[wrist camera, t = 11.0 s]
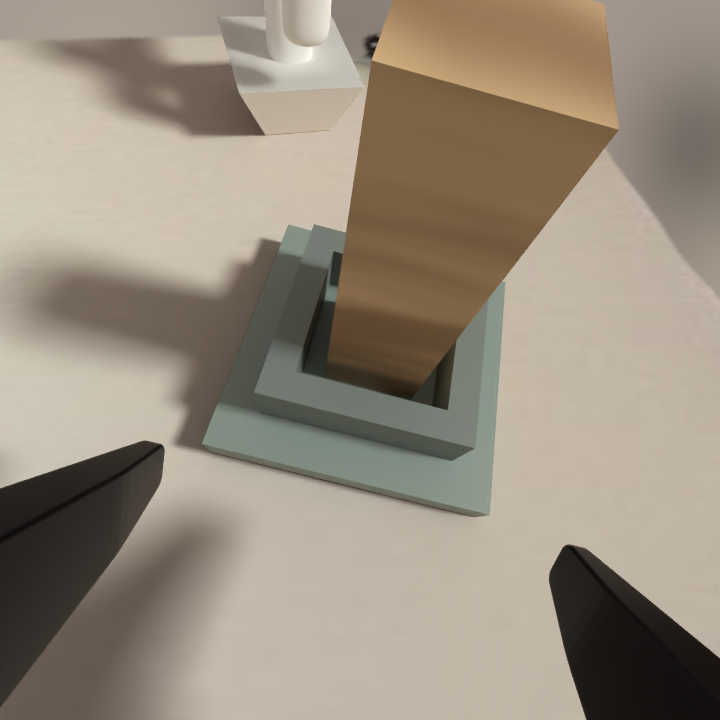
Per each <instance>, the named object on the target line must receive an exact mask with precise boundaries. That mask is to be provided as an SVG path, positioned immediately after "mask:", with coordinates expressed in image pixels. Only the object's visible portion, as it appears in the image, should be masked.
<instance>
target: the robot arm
mask: <svg viewBox="0 0 720 720" xmlns="http://www.w3.org/2000/svg"><path fill="white" fill-rule="evenodd" d="M164 451H165V450H164V447H163V445H162V444H158V443H154V442H150V441H141V442H138V443H135V444H132V445H129V446H126V447H123V448H120V449H117V450H114V451H111V452H108V453H105V454H102V455H99V456H96V457H93V458H90V459H87V460H84V461H81V462H78V463H75V464H72V465H69V466H66V467H63V468H60V469H57V470H54V471H51V472H48V473H45V474H42V475H39V476H36V477H33V478H30V479H27V480H24V481H21V482H18V483H15V484H12V485H9V486H6V487H3V488H0V707H1V706H2V705H3V703H4V702H5V701H6V699H7V698H8V697H9V695H10V694H11V693H12V691H13V690H14V689H15V688H16V686H17V685H18V684H19V682H20V681H21V680H22V678H23V677H24V676H25V674H26V673H27V672H28V670H29V669H30V668H31V667H32V665H33V664H34V663H35V661H36V660H37V659H38V657H39V656H40V655H41V653H42V652H43V651H44V649H45V648H46V647H47V646H48V644H49V643H50V642H51V640H52V639H53V638H54V636H55V635H56V634H57V632H58V631H59V630H60V628H61V627H62V626H63V625H64V623H65V622H66V621H67V619H68V618H69V617H70V615H71V614H72V613H73V611H74V610H75V609H76V607H77V606H78V605H79V604H80V602H81V601H82V600H83V598H84V597H85V596H86V594H87V593H88V592H89V590H90V589H91V588H92V586H93V585H94V584H95V583H96V581H97V580H98V579H99V577H100V576H101V575H102V573H103V572H104V571H105V569H106V568H107V567H108V565H109V564H110V563H111V561H112V560H113V559H114V557H115V556H116V555H117V553H118V552H119V550H120V549H121V547H122V546H123V544H124V542H125V541H126V539H127V538H128V536H129V534H130V533H131V531H132V529H133V528H134V526H135V525H136V523H137V521H138V520H139V518H140V516H141V515H142V513H143V511H144V510H145V508H146V507H147V505H148V503H149V502H150V500H151V498H152V497H153V495H154V493H155V492H156V490H157V489H158V487H159V485H160V482H161V479H162V471H163V462H164ZM549 583H550V588H551V592H552V597H553V601H554V606H555V610H556V614H557V619H558V623H559V628H560V632H561V636H562V641H563V645H564V649H565V653H566V657H567V660H568V664H569V667H570V670H571V674H572V677H573V680H574V683H575V686H576V689H577V692H578V695H579V698H580V702H581V705H582V708H583V711H584V714H585V717H586V720H720V658H719V657H718V656H716V655H715V654H714V653H713V652H712V651H710V650H709V649H708V648H707V647H705V646H704V645H703V644H702V643H701V642H699V641H698V640H697V639H696V638H695V637H693V636H692V635H691V634H690V633H688V632H687V631H686V630H685V629H684V628H682V627H681V626H680V625H679V624H677V623H676V622H675V621H674V620H673V619H671V618H670V617H669V616H668V615H667V614H665V613H664V612H663V611H662V610H660V609H659V608H658V607H657V606H656V605H654V604H653V603H652V602H651V601H649V600H648V599H647V598H646V597H645V596H643V595H642V594H641V593H640V592H639V591H637V590H636V589H635V588H634V587H632V586H631V585H630V584H629V583H628V582H626V581H625V580H624V579H623V578H621V577H620V576H619V575H618V574H617V573H615V572H614V571H613V570H612V569H611V568H609V567H608V566H607V565H606V564H604V563H603V562H602V561H601V560H600V559H598V558H597V557H596V556H595V555H593V554H592V553H591V552H590V551H589V550H587V549H585V548H582V547H578V546H574V545H570V544H569V545H565V546H564V547H563V548H562V550H561V552H560V554H559V556H558V557H557V559H556V561H555V563H554V565H553V567H552V569H551V571H550V574H549Z"/></svg>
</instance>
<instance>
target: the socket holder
mask: <svg viewBox="0 0 720 720" xmlns="http://www.w3.org/2000/svg"><path fill="white" fill-rule="evenodd" d="M345 237H346V233H345V232H341V231H337V230H333V229H330V228H326V227H322V226H318V225H315V224H314V226H313V229H312V231H310V230H306V229H302V228H299V227H295V226H291V225H288V227H287V230H286V232H285V235H284V237H283V240H282V242H281V245H280V247H279V250H278V253H277V255H276V258H275V260H274V263H273V265H272V268H271V270H270V273H269V275H268V278H267V280H266V283H265V285H264V288H263V290H262V293H261V295H260V298H259V300H258V303H257V305H256V308H255V311H254V313H253V316H252V318H251V321H250V323H249V326H248V328H247V331H246V333H245V336H244V338H243V341H242V343H241V346H240V348H239V351H238V353H237V356H236V358H235V361H234V364H233V366H232V369H231V371H230V374H229V376H228V379H227V381H226V384H225V386H224V389H223V391H222V394H221V396H220V399H219V401H218V404H217V406H216V409H215V411H214V414H213V416H212V419H211V422H210V424H209V427H208V429H207V432H206V434H205V437H204V439H203V442H202V445H203V446H204V447H205V448H206V449H207V450H208V451H209V452H213V453H217V454H221V455H225V456H229V457H234V458H238V459H242V460H246V461H250V462H254V463H258V464H262V465H266V466H270V467H274V468H278V469H282V470H286V471H290V472H294V473H298V474H302V475H306V476H311V477H315V478H319V479H323V480H327V481H331V482H335V483H339V484H343V485H347V486H351V487H355V488H359V489H363V490H367V491H371V492H375V493H379V494H383V495H388V496H392V497H396V498H400V499H404V500H408V501H412V502H416V503H420V504H424V505H428V506H432V507H436V508H440V509H444V510H448V511H452V512H456V513H460V514H465V515H469V516H473V517H479V516H486V515H490V500H491V485H492V471H493V456H494V441H495V426H496V411H497V396H498V382H499V367H500V352H501V337H502V322H503V307H504V293H505V282H501V283H500V284H499V286H498V287H497V288H496V290H495V291H494V292H493V293H492V295H491V296H490V297H489V299H488V300H487V301H486V303H485V304H484V305H483V306H482V308H481V309H480V310H479V312H478V313H477V314H476V316H475V317H474V318H473V319H472V321H471V322H470V323H469V325H468V326H467V327H466V328H465V330H464V331H463V332H462V334H461V335H460V336H459V338H458V339H457V340H456V341H455V343H454V344H453V345H452V347H451V348H450V349H449V351H448V352H447V353H446V354H445V356H444V357H443V358H442V360H441V361H440V362H439V364H438V365H437V366H436V367H435V369H434V370H433V371H432V373H431V374H430V375H429V376H428V378H427V379H426V380H425V382H424V383H423V384H422V386H421V387H420V388H419V389H418V391H417V392H416V393H415V395H414V396H413V397H412V399H408V398H404V397H400V396H396V395H392V394H388V393H384V392H380V391H376V390H372V389H368V388H364V387H361V386H357V385H353V384H349V383H345V382H341V381H337V380H333V379H329V378H325V371H326V365H327V358H328V351H329V345H330V338H331V331H332V324H333V318H334V311H335V304H336V297H337V291H338V284H339V277H340V271H341V264H342V257H343V250H344V244H345Z"/></svg>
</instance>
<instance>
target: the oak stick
mask: <svg viewBox="0 0 720 720" xmlns="http://www.w3.org/2000/svg"><path fill="white" fill-rule="evenodd" d="M618 130H619V127H618V119H617V110H616V101H615V93H614V84H613V75H612V67H611V58H610V49H609V41H608V32H607V24H606V15H605V7H604V4H601V3H597V2H594V1H590V0H393V2H392V5H391V8H390V11H389V13H388V16H387V19H386V22H385V25H384V27H383V30H382V33H381V36H380V39H379V41H378V44H377V47H376V50H375V53H374V55H373V58H372V62H371V69H370V75H369V82H368V89H367V96H366V102H365V109H364V116H363V122H362V129H361V136H360V143H359V149H358V156H357V163H356V170H355V176H354V183H353V190H352V197H351V203H350V210H349V217H348V223H347V230H346V237H345V244H344V250H343V257H342V264H341V271H340V277H339V284H338V291H337V297H336V304H335V311H334V318H333V324H332V331H331V338H330V345H329V351H328V358H327V365H326V371H325V378H329V379H333V380H337V381H341V382H345V383H349V384H353V385H357V386H361V387H364V388H368V389H372V390H376V391H380V392H384V393H388V394H392V395H396V396H400V397H404V398H408V399H412V397H413V396H414V395H415V393H416V392H417V391H418V389H419V388H420V387H421V386H422V384H423V383H424V382H425V380H426V379H427V378H428V376H429V375H430V374H431V373H432V371H433V370H434V369H435V367H436V366H437V365H438V364H439V362H440V361H441V360H442V358H443V357H444V356H445V354H446V353H447V352H448V351H449V349H450V348H451V347H452V345H453V344H454V343H455V341H456V340H457V339H458V338H459V336H460V335H461V334H462V332H463V331H464V330H465V328H466V327H467V326H468V325H469V323H470V322H471V321H472V319H473V318H474V317H475V316H476V314H477V313H478V312H479V310H480V309H481V308H482V306H483V305H484V304H485V303H486V301H487V300H488V299H489V297H490V296H491V295H492V293H493V292H494V291H495V290H496V288H497V287H498V286H499V284H500V283H501V282H502V280H503V279H504V278H505V277H506V275H507V274H508V273H509V271H510V270H511V269H512V268H513V266H514V265H515V264H516V262H517V261H518V260H519V258H520V257H521V256H522V255H523V253H524V252H525V251H526V249H527V248H528V247H529V245H530V244H531V243H532V242H533V240H534V239H535V238H536V236H537V235H538V234H539V232H540V231H541V230H542V229H543V227H544V226H545V225H546V223H547V222H548V221H549V220H550V218H551V217H552V216H553V214H554V213H555V212H556V210H557V209H558V208H559V207H560V205H561V204H562V203H563V201H564V200H565V199H566V197H567V196H568V195H569V194H570V192H571V191H572V190H573V188H574V187H575V186H576V184H577V183H578V182H579V181H580V179H581V178H582V177H583V175H584V174H585V173H586V172H587V170H588V169H589V168H590V166H591V165H592V164H593V162H594V161H595V160H596V159H597V157H598V156H599V155H600V153H601V152H602V151H603V149H604V148H605V147H606V146H607V144H608V143H609V142H610V140H611V139H612V138H613V136H614V135H615V134H616V133H617V131H618Z"/></svg>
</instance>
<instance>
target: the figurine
mask: <svg viewBox="0 0 720 720" xmlns="http://www.w3.org/2000/svg"><path fill="white" fill-rule="evenodd" d="M264 6H265V17H218V20H219V24H220V27H221V31H222V35H223V38H224V42H225V45H226V49H227V52H228V56H229V60H230V63H231V67H232V70H233V74H234V77H235V81H236V84H237V88H238V91H239V94H240V96H241V97H242V99H243V100H244V102H245V104H246V105H247V107H248V108H249V110H250V111H251V113H252V115H253V116H254V118H255V119H256V121H257V122H258V124H259V126H260V127H261V129H262V130H263V132H264V133H265V135H273V134H286V133H299V132H312V131H325V130H330V129H331V128H332V127H333V126H334V124H335V123H336V122H337V121H338V119H339V118H340V117H341V116H342V114H343V113H344V112H345V111H346V109H347V108H348V107H349V106H350V104H351V103H352V102H353V101H354V99H355V98H356V97H357V96H358V94H359V93H360V92H361V91H362V89H363V88H364V85H363V82H362V80H361V78H360V76H359V74H358V72H357V70H356V67H355V65H354V63H353V61H352V59H351V57H350V54H349V52H348V50H347V48H346V46H345V44H344V42H343V39H342V37H341V35H340V33H339V31H338V29H337V26H336V24H335V22H334V20H333V18H332V16H331V0H264Z"/></svg>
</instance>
